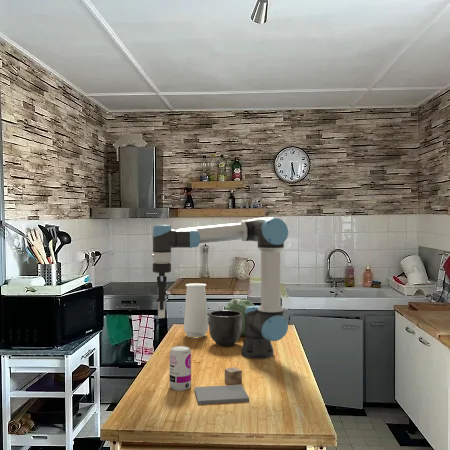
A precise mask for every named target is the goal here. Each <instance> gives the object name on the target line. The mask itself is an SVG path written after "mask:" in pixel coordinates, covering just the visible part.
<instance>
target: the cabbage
mask: <svg viewBox="0 0 450 450" xmlns="http://www.w3.org/2000/svg"><path fill="white" fill-rule="evenodd" d="M248 306H255V304H254V303H253V302H252V300H250V299H247V298H246V299H242V298H234V299H231V300H230V301H229V302H228V303H227V305H226V306H225V307H224V310H232V311H238V312H241V313H242V314H243V322H242V332H241V336H245V309H246V307H248Z"/></svg>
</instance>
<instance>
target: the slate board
mask: <svg viewBox="0 0 450 450" xmlns="http://www.w3.org/2000/svg"><path fill="white" fill-rule="evenodd" d="M194 393H195V396H196V400H197V404H198V405H210V404H211V405H212V404H223V403H224V404H227V403H228V404H229V403H243V402H245V403H247V402H250V397H249V395H248V393H247V391H246V389H244V387H243V385H242V384H234V385H230V384H228V385H227V384H226V385H211V386H194Z"/></svg>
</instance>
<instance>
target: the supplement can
mask: <svg viewBox="0 0 450 450" xmlns="http://www.w3.org/2000/svg"><path fill="white" fill-rule="evenodd" d="M191 387H192V351H191V349H190V347H189V346H185V345H177V346H173V347H171V348H170V351H169V388H171V390H173V391H176V392H177V391H178V392H180V391H181V392H182V391H186V390H189V389H190V388H191Z"/></svg>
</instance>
